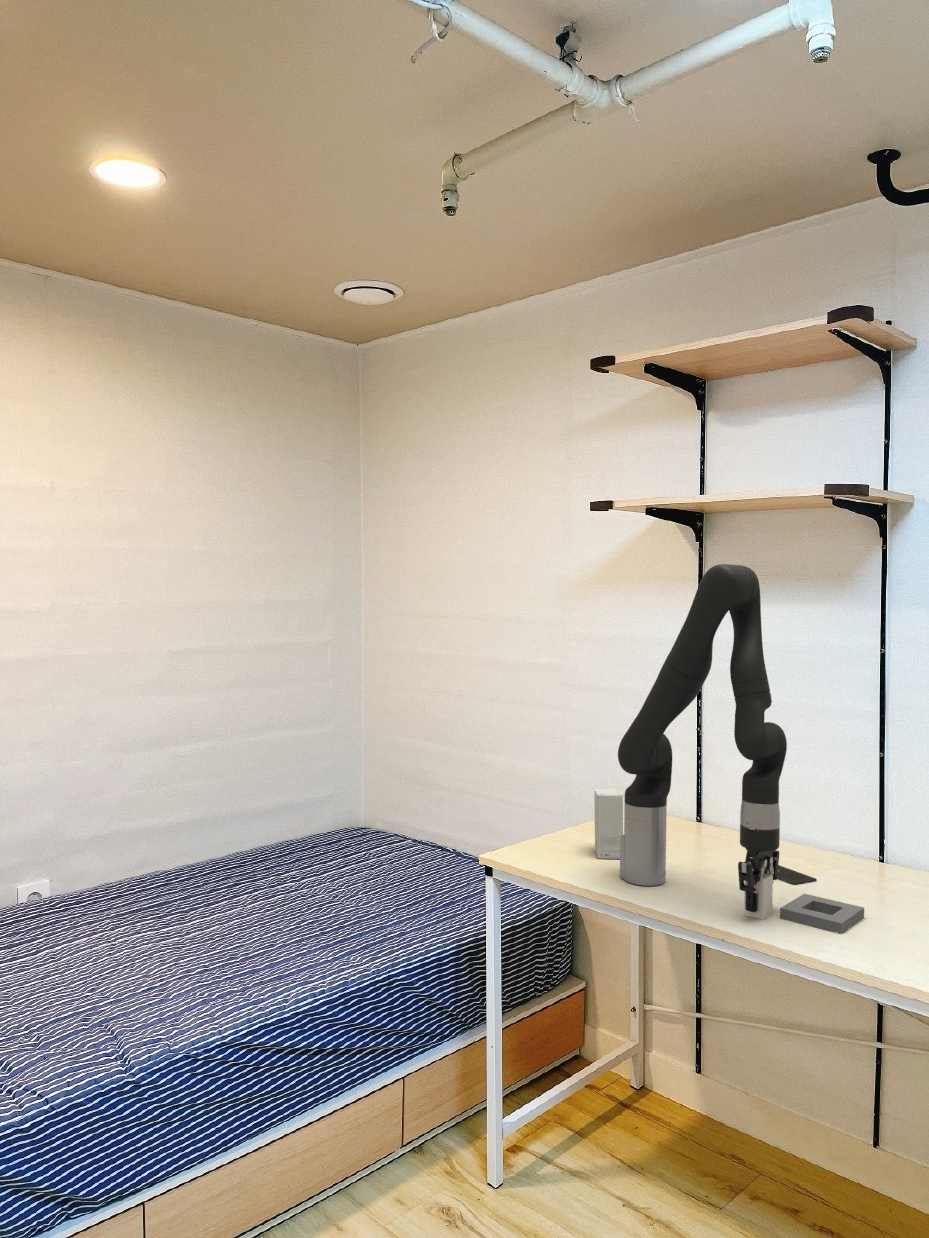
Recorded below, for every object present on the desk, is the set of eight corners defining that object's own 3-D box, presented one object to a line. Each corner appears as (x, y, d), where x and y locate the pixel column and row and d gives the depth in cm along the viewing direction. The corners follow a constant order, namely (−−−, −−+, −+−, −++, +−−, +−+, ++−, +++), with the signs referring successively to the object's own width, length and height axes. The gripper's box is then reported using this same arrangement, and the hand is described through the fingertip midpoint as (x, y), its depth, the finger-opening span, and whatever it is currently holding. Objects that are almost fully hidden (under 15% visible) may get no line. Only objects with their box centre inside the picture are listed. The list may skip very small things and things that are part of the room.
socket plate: (779, 917, 179) (779, 907, 179) (804, 903, 188) (804, 893, 188) (841, 933, 171) (841, 923, 171) (864, 917, 180) (864, 907, 180)
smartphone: (768, 864, 216) (768, 861, 216) (818, 882, 203) (818, 879, 203) (744, 868, 213) (744, 864, 213) (793, 887, 199) (793, 883, 199)
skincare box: (623, 859, 217) (624, 795, 217) (595, 859, 218) (596, 794, 217) (619, 850, 226) (620, 787, 225) (593, 849, 226) (593, 787, 226)
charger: (744, 914, 181) (744, 873, 181) (753, 909, 184) (753, 869, 183) (763, 919, 178) (764, 878, 178) (772, 914, 181) (772, 873, 181)
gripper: (757, 813, 188) (756, 894, 189) (725, 826, 178) (724, 911, 178) (793, 820, 183) (791, 902, 184) (762, 833, 173) (760, 921, 173)
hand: (758, 906), depth 181 cm, fingers open, 5 cm apart
